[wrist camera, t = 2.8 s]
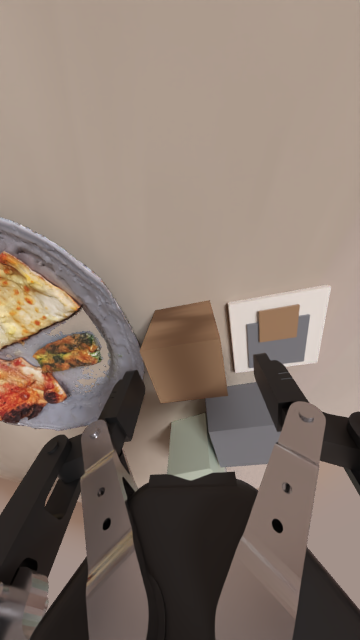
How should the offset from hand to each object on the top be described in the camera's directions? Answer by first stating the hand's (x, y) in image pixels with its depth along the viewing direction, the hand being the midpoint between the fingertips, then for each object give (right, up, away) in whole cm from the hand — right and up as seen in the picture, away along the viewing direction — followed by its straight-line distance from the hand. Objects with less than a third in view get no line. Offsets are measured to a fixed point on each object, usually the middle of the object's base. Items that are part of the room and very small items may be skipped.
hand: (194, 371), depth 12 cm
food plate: (-17, +1, +7) cm, 19 cm away
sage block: (+1, -11, +12) cm, 17 cm away
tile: (+8, +2, +5) cm, 9 cm away
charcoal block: (+6, -7, +10) cm, 14 cm away
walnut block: (0, +3, +5) cm, 6 cm away
